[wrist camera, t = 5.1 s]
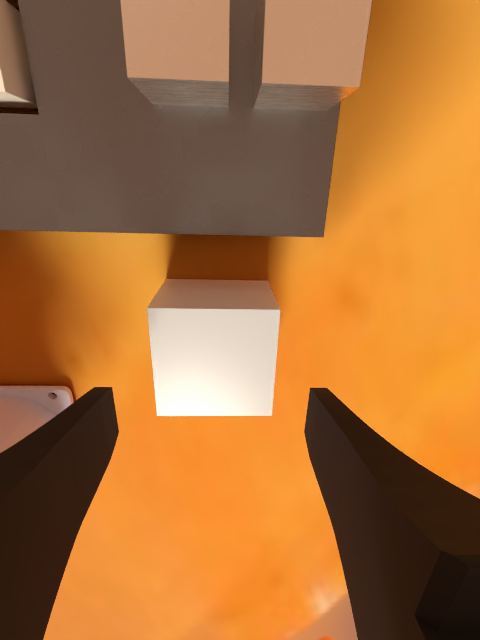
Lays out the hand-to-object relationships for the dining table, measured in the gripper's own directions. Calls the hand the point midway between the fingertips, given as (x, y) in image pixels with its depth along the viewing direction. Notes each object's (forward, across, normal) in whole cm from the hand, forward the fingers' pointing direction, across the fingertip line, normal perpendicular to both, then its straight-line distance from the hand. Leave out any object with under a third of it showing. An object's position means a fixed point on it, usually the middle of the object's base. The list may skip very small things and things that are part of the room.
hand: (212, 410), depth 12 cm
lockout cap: (+8, 0, 0) cm, 8 cm away
